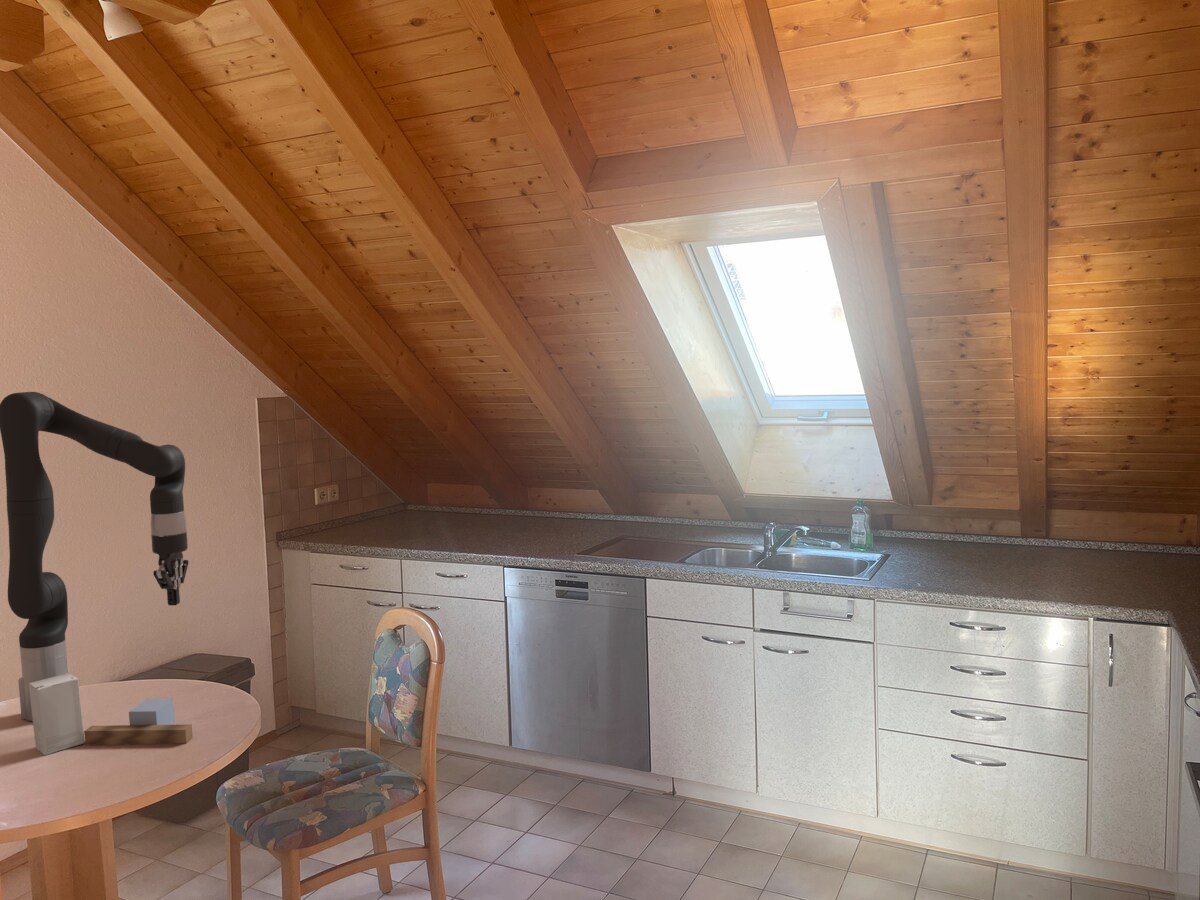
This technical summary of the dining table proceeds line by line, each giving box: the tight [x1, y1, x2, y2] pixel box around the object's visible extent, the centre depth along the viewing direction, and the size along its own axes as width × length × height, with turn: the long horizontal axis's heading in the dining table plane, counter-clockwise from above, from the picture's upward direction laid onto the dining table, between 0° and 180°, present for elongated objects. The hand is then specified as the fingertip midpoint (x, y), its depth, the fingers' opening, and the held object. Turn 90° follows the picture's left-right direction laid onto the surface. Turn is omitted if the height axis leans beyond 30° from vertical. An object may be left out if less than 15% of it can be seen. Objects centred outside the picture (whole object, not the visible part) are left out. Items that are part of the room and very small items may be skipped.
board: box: [83, 723, 194, 746], centre depth 207 cm, size 22×3×3 cm, turn 88°
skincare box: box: [29, 672, 85, 756], centre depth 205 cm, size 8×6×15 cm
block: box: [128, 697, 176, 725], centre depth 213 cm, size 6×8×6 cm
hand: (173, 604), depth 225 cm, fingers closed
